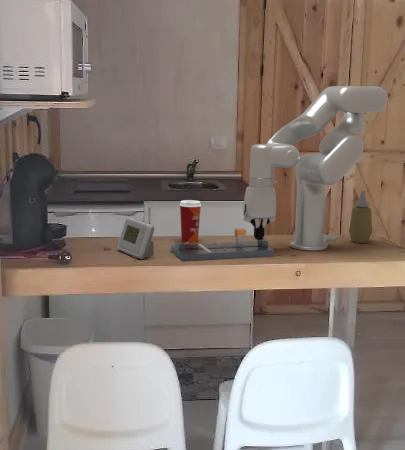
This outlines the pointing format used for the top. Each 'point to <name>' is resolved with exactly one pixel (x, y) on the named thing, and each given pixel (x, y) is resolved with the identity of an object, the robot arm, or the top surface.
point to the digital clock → (136, 239)
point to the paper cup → (190, 220)
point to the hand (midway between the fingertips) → (258, 239)
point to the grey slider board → (221, 250)
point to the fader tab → (240, 236)
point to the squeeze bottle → (361, 221)
